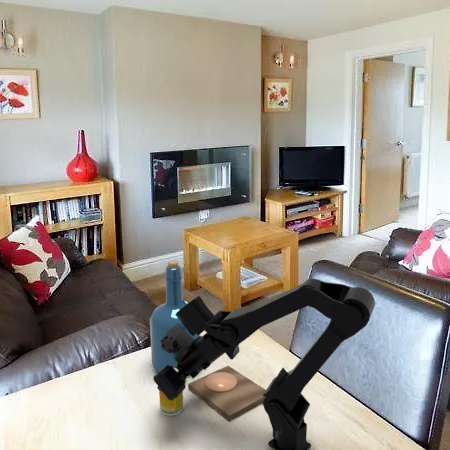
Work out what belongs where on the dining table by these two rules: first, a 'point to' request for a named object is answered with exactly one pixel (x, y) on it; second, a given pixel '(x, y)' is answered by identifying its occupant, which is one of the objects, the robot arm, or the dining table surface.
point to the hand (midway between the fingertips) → (165, 382)
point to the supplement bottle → (171, 404)
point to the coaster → (221, 382)
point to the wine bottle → (167, 318)
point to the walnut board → (230, 395)
